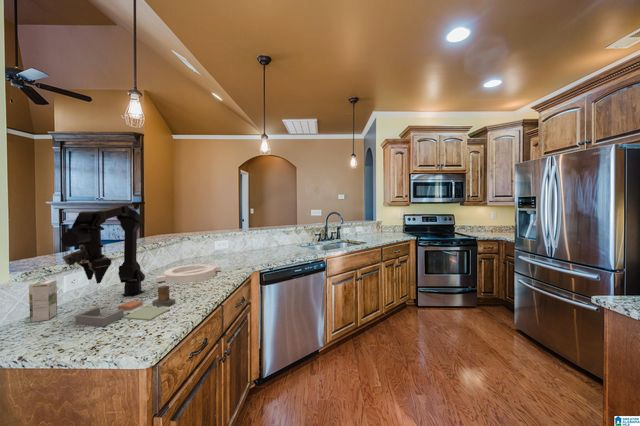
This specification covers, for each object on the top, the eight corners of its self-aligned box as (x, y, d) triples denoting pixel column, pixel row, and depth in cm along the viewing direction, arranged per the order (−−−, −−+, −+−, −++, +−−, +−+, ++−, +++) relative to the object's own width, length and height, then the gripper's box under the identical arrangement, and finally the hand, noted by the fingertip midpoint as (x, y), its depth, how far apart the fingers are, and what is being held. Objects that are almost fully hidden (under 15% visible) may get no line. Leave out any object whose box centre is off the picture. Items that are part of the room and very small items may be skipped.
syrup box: (39, 316, 106) (37, 280, 105) (58, 314, 108) (56, 278, 107) (29, 322, 100) (27, 284, 100) (50, 320, 102) (48, 282, 102)
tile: (131, 305, 118) (130, 300, 118) (142, 306, 117) (142, 301, 117) (118, 310, 112) (118, 305, 112) (130, 311, 111) (130, 306, 111)
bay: (97, 314, 107) (97, 307, 106) (123, 317, 104) (123, 309, 104) (75, 324, 98) (75, 316, 98) (103, 326, 96) (103, 318, 96)
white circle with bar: (222, 271, 175) (222, 264, 175) (202, 284, 147) (202, 275, 147) (180, 271, 176) (180, 264, 176) (153, 284, 148) (152, 275, 148)
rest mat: (144, 308, 113) (144, 307, 113) (169, 309, 111) (169, 308, 111) (123, 318, 103) (123, 316, 103) (150, 320, 101) (150, 319, 101)
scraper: (159, 302, 120) (159, 284, 119) (175, 303, 118) (174, 285, 118) (152, 305, 116) (151, 287, 115) (168, 307, 114) (168, 288, 114)
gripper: (57, 243, 104) (59, 283, 105) (73, 248, 94) (75, 291, 95) (92, 239, 113) (94, 276, 114) (111, 243, 103) (113, 283, 104)
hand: (94, 281), depth 107 cm, fingers open, 9 cm apart
